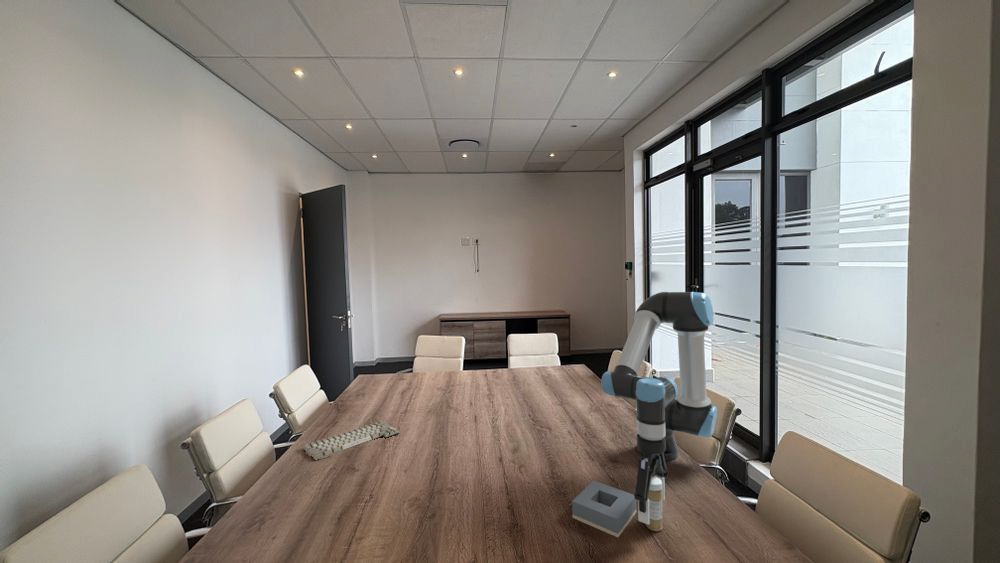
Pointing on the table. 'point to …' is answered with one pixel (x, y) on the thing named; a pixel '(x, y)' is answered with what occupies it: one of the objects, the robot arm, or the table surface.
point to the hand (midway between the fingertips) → (652, 509)
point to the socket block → (604, 508)
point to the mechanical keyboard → (350, 439)
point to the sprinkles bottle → (655, 505)
